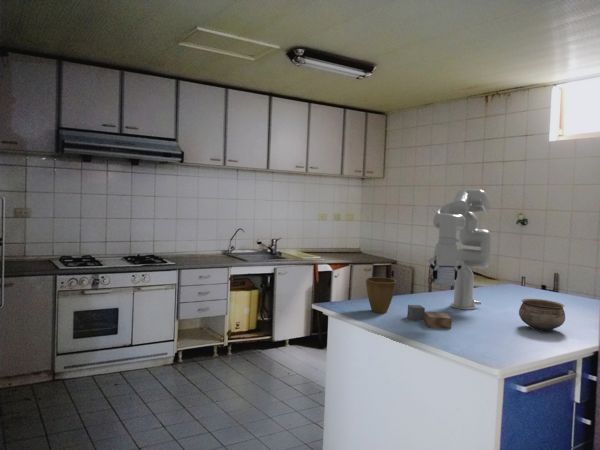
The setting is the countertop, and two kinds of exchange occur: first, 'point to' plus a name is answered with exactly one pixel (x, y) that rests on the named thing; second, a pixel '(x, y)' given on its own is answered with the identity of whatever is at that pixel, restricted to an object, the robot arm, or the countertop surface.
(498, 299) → the countertop surface
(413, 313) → the charcoal cube
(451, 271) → the medicine box
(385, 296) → the plant pot
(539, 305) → the cooking pot
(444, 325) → the walnut block
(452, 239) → the robot arm
